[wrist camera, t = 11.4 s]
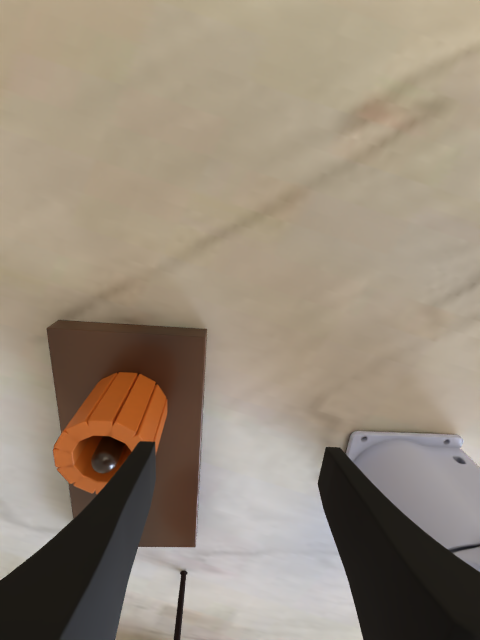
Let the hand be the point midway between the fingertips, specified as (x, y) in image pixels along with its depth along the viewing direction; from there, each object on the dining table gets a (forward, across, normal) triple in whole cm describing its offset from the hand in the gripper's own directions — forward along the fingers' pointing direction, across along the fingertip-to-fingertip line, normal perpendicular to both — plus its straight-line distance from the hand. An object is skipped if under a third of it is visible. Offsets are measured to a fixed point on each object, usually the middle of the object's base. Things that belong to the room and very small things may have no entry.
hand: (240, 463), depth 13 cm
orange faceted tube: (+8, +7, +4) cm, 12 cm away
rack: (+10, +7, +8) cm, 15 cm away
